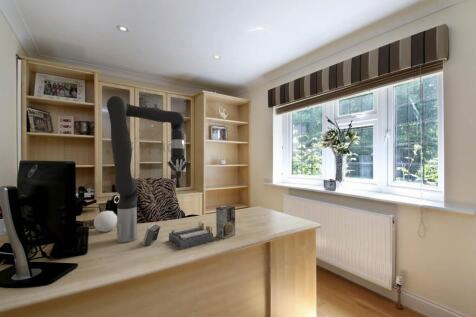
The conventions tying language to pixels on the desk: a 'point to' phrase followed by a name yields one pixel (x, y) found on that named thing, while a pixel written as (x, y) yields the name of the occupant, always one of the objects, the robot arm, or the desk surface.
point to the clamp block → (191, 238)
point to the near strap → (194, 234)
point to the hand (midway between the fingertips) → (178, 177)
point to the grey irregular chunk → (151, 234)
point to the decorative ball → (105, 221)
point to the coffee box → (225, 221)
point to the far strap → (187, 229)
